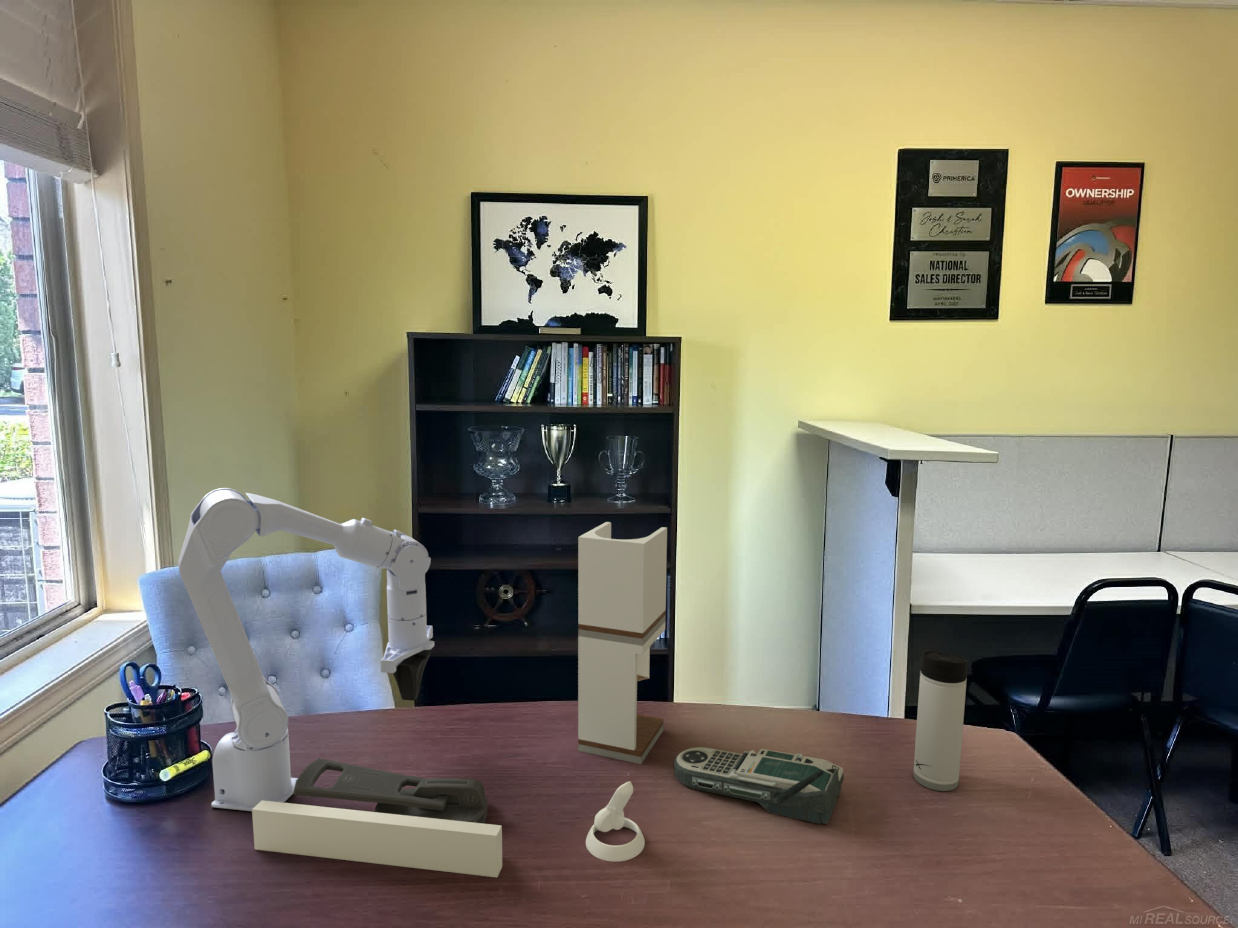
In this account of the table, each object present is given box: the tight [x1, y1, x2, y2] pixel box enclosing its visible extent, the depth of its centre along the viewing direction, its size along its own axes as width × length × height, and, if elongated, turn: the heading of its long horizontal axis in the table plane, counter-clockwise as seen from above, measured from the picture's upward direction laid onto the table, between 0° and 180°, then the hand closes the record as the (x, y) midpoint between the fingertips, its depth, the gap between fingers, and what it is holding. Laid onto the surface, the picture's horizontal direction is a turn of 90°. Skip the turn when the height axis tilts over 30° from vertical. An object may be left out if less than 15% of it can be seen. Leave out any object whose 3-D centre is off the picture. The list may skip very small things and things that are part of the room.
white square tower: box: [577, 521, 668, 765], centre depth 122 cm, size 11×11×35 cm
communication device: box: [673, 746, 845, 825], centre depth 110 cm, size 12×24×9 cm, turn 63°
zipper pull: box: [293, 757, 488, 824], centre depth 103 cm, size 9×7×25 cm
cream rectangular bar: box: [251, 800, 503, 878], centre depth 95 cm, size 32×4×6 cm, turn 81°
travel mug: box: [912, 650, 968, 792], centre depth 112 cm, size 6×7×20 cm
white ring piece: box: [585, 781, 646, 863], centre depth 96 cm, size 8×12×7 cm
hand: (409, 698), depth 118 cm, fingers closed
